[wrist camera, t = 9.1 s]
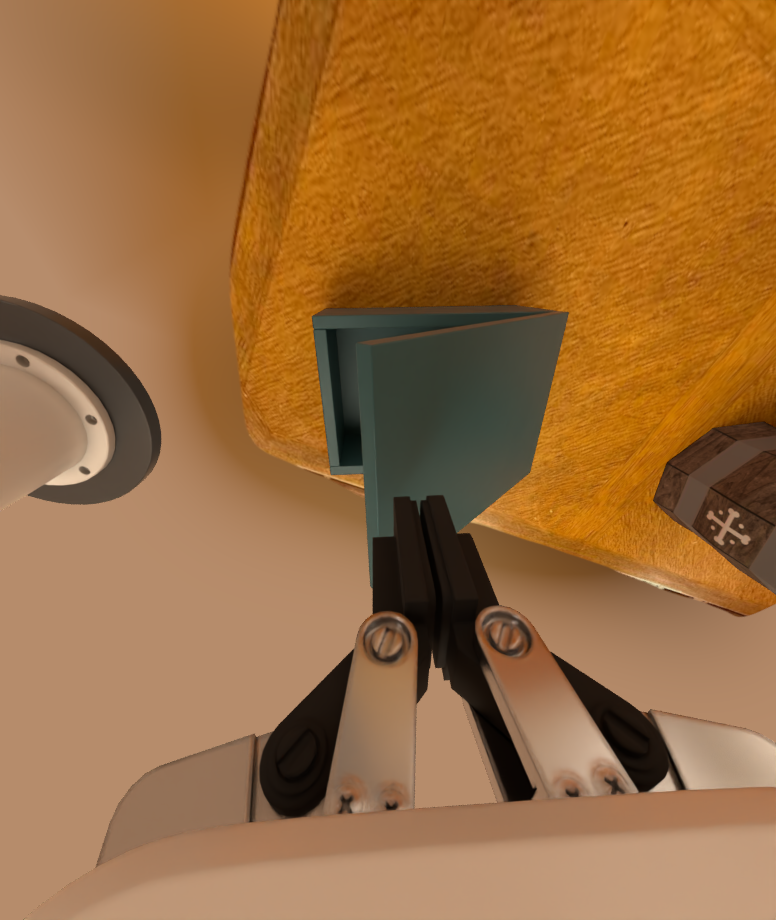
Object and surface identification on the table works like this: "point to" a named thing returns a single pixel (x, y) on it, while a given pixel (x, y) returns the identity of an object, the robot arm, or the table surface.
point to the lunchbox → (339, 360)
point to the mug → (728, 495)
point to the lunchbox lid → (453, 414)
